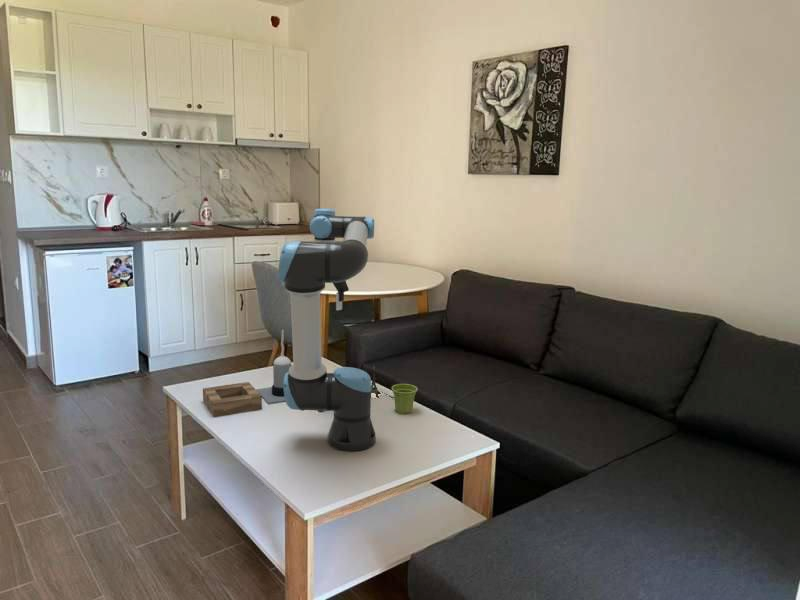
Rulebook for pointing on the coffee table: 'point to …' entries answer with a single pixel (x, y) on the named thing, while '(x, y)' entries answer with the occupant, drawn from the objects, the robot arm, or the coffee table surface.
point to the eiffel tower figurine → (374, 389)
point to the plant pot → (404, 397)
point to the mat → (270, 396)
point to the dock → (232, 399)
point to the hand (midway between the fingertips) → (324, 307)
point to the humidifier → (280, 371)
